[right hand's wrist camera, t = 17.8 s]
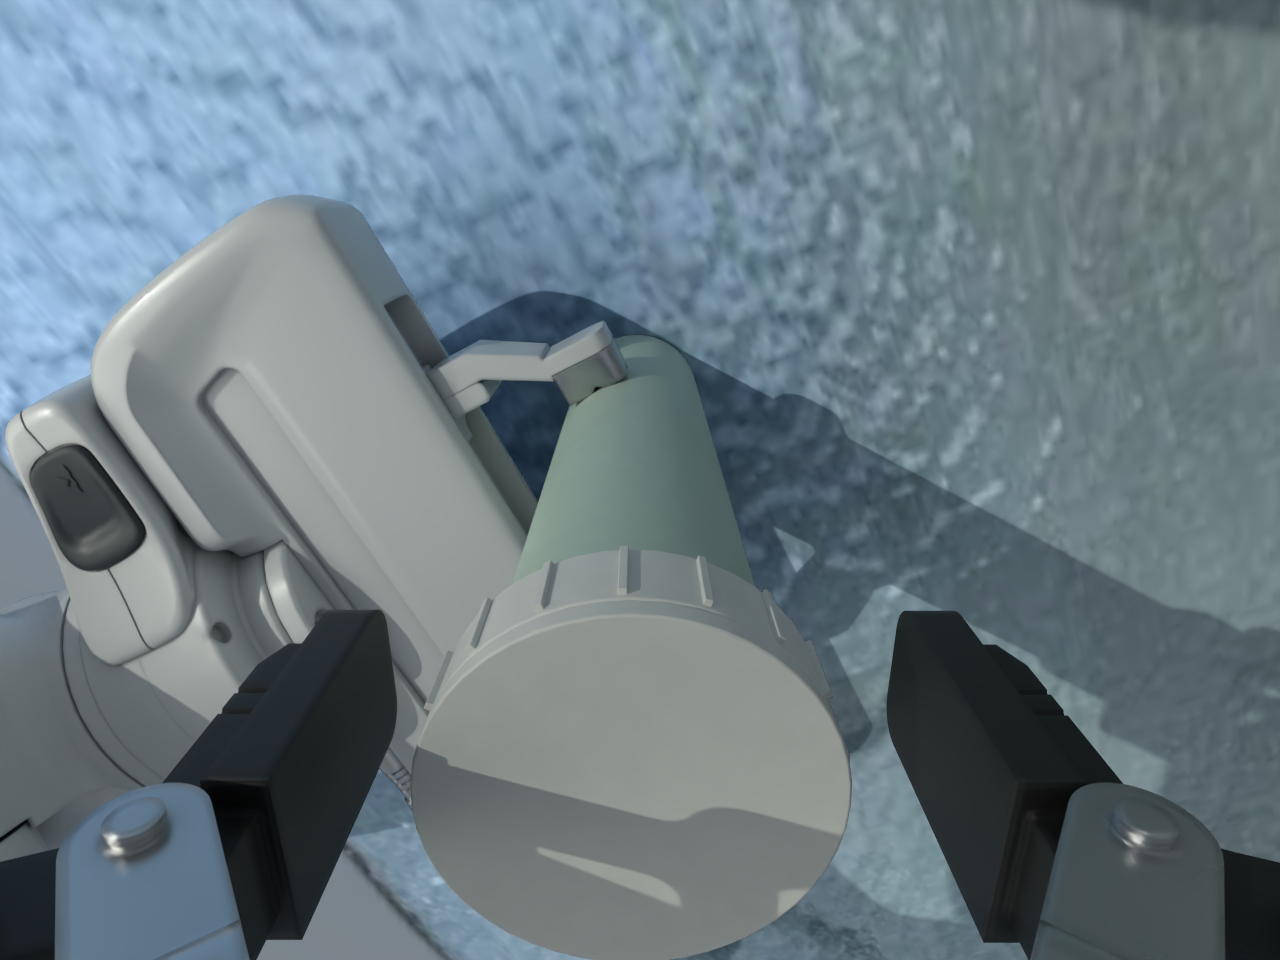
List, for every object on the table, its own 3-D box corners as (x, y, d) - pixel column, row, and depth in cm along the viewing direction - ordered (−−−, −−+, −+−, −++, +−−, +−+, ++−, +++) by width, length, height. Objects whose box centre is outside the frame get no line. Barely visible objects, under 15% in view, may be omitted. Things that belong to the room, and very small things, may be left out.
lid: (696, 912, 12) (705, 1019, 11) (375, 776, 11) (333, 870, 10) (904, 658, 11) (950, 740, 9) (548, 471, 10) (530, 526, 8)
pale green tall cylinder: (567, 440, 29) (446, 870, 11) (586, 324, 27) (482, 594, 9) (682, 460, 29) (755, 912, 11) (708, 347, 27) (842, 653, 9)
